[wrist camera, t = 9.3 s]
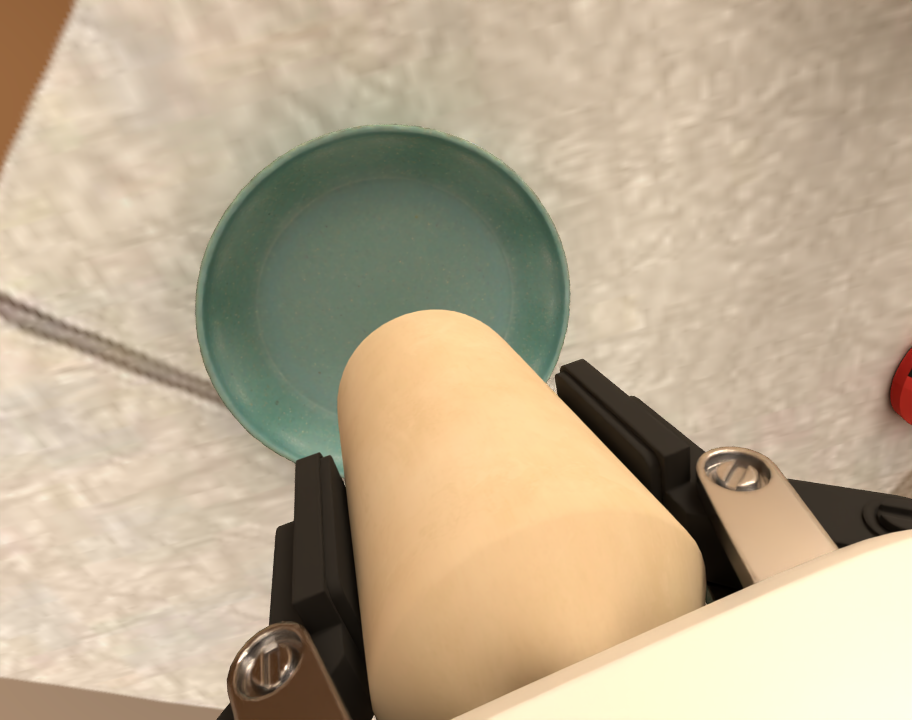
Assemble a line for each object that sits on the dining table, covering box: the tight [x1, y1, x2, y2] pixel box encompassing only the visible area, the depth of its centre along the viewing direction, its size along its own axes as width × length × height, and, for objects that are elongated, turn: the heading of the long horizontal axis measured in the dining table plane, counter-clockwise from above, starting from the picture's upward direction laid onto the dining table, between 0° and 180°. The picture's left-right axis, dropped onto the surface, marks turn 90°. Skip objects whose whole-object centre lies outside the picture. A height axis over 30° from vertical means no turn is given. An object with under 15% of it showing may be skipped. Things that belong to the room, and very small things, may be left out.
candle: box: [337, 310, 706, 720], centre depth 11 cm, size 6×6×10 cm
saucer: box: [195, 124, 570, 479], centre depth 21 cm, size 15×15×3 cm
